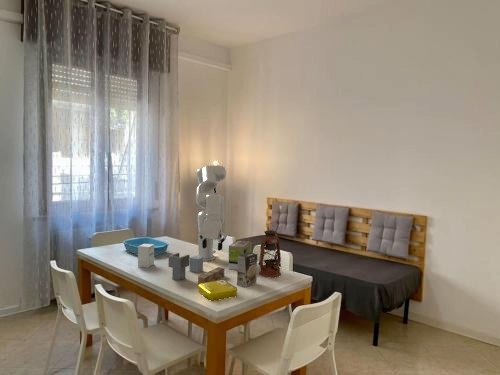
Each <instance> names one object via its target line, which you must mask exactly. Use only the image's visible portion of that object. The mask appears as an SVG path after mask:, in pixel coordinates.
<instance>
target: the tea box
mask: <svg viewBox="0 0 500 375" xmlns="http://www.w3.org/2000/svg"><path fill="white" fill-rule="evenodd" d="M248 252H249V253H252V241H246V240H236V241H234V242H232V243H231V244H229V245H228V270H233V271H237V270H238V255H240V254H244V253H248Z"/></svg>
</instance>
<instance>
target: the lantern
mask: <svg viewBox="0 0 500 375" xmlns="http://www.w3.org/2000/svg"><path fill="white" fill-rule="evenodd" d="M270 225H273V223H272V222H270V223H269V224H268V227H267V230H264V231H263V233H264V234H265V235H264V238H263V240H262V242H261V244H260V253H259V254H260V255H259V258H258V262H257V266H259V268H260V271H259V273H258V275H259V276H260V277H263V278H267V277H271V278H270V279H274V278H275V277H276V278H280V277H282V273H281V268H282V264H281V262H282V260H281V259H282V257H281V249H280V248H281V247H280V246H281V245H280V238H279V237H278V236H277V234H278V233H277V231H275V230H274V229H271V230H270V229H269V226H270ZM265 250H266V251H265ZM270 252H273V254H272V253H270ZM265 255H267V257H269V259H265ZM268 255H270V256H271V257H270V256H268ZM279 276H280V277H279Z"/></svg>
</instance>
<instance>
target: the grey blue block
mask: <svg viewBox="0 0 500 375" xmlns="http://www.w3.org/2000/svg"><path fill="white" fill-rule="evenodd" d="M203 270H204V261H203V257H199V256H198V255H194V256H191V257H190V258H189V272H192V273H197V274H199V273H201V272H203Z"/></svg>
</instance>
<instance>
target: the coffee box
mask: <svg viewBox="0 0 500 375" xmlns="http://www.w3.org/2000/svg"><path fill="white" fill-rule="evenodd" d="M236 272H237V274H236V275H237V278H236V285H237V286H240V287H243V288H247V287H250V286H253V285H255V284H257V275H258V273H257V272H258V254H257V253H253V252H251V253H249V252H248V253H244V254H240V255H238V270H236Z"/></svg>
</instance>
